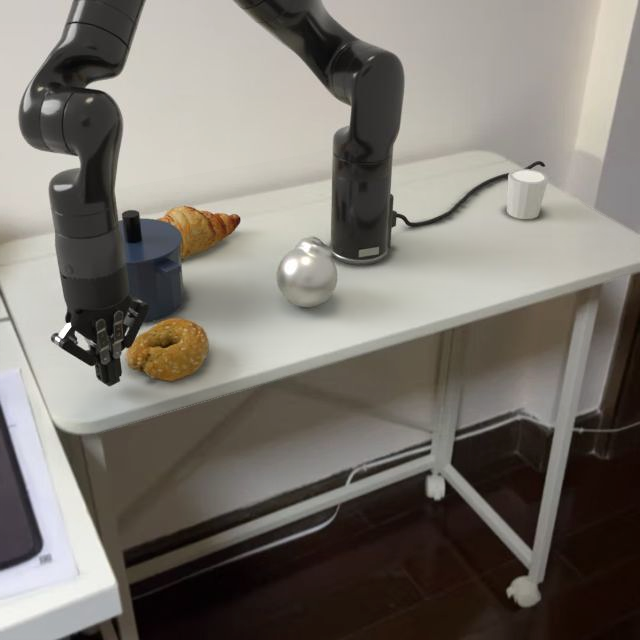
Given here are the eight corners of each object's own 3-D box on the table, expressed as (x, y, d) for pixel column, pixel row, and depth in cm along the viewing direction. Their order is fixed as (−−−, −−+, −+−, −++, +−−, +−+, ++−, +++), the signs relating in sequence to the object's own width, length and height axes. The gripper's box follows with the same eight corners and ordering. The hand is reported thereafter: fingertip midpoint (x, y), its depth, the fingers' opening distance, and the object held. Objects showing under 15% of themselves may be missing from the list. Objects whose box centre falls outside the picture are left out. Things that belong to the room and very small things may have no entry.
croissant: (130, 288, 137) (134, 259, 131) (105, 239, 141) (108, 209, 135) (248, 252, 147) (257, 223, 140) (222, 208, 151) (229, 178, 144)
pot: (138, 264, 137) (132, 209, 132) (213, 306, 127) (209, 248, 122) (69, 293, 129) (59, 236, 124) (142, 340, 119) (135, 280, 114)
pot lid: (143, 216, 131) (140, 185, 129) (202, 246, 124) (200, 213, 121) (66, 246, 123) (60, 213, 120) (123, 280, 115) (119, 245, 113)
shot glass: (547, 210, 156) (554, 173, 152) (534, 224, 151) (540, 187, 147) (511, 201, 159) (517, 165, 155) (497, 214, 154) (502, 177, 150)
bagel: (131, 341, 119) (127, 312, 116) (212, 340, 119) (210, 310, 117) (121, 385, 110) (117, 354, 108) (208, 383, 111) (206, 352, 108)
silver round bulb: (352, 304, 128) (354, 243, 123) (301, 325, 123) (301, 263, 117) (314, 279, 134) (314, 221, 128) (264, 299, 129) (262, 239, 123)
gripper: (120, 230, 105) (135, 348, 115) (22, 269, 97) (47, 392, 107) (158, 251, 101) (171, 371, 110) (59, 293, 93) (82, 419, 102)
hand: (110, 381), depth 108 cm, fingers closed
